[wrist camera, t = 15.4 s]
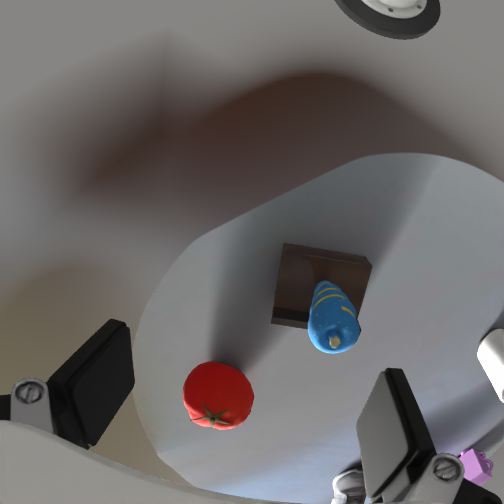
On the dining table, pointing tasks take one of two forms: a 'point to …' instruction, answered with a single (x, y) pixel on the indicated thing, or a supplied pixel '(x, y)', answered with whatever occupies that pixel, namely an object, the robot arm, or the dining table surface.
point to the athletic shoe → (349, 487)
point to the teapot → (476, 466)
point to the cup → (493, 359)
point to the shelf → (315, 281)
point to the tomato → (217, 395)
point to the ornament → (332, 319)
